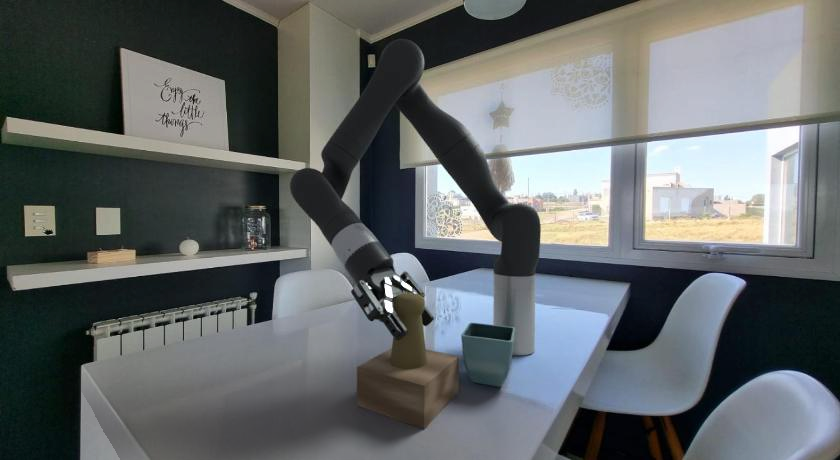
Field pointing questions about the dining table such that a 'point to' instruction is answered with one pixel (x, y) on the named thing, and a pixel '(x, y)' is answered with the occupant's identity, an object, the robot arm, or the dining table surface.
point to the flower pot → (487, 352)
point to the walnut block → (408, 387)
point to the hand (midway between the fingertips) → (417, 329)
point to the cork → (409, 332)
